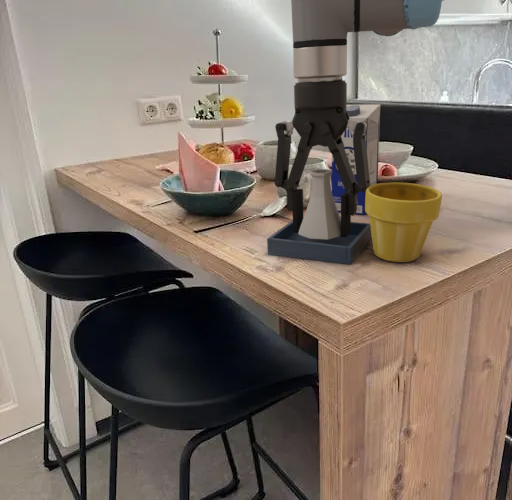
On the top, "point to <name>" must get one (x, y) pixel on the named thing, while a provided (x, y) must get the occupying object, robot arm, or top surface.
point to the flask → (321, 209)
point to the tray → (320, 244)
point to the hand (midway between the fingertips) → (321, 232)
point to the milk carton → (372, 145)
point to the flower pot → (401, 218)
